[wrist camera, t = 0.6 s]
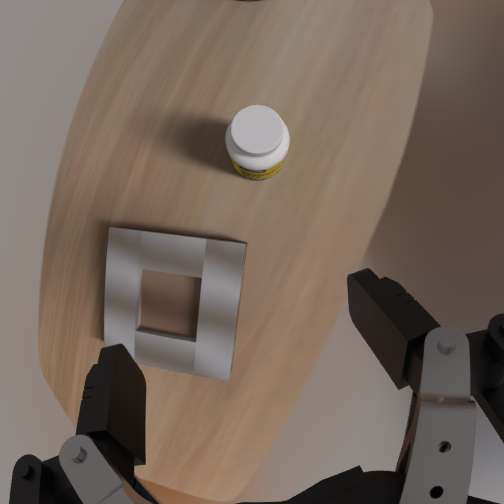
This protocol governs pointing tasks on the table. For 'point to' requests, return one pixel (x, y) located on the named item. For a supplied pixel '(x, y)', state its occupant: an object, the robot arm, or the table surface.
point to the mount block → (174, 299)
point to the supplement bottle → (257, 142)
